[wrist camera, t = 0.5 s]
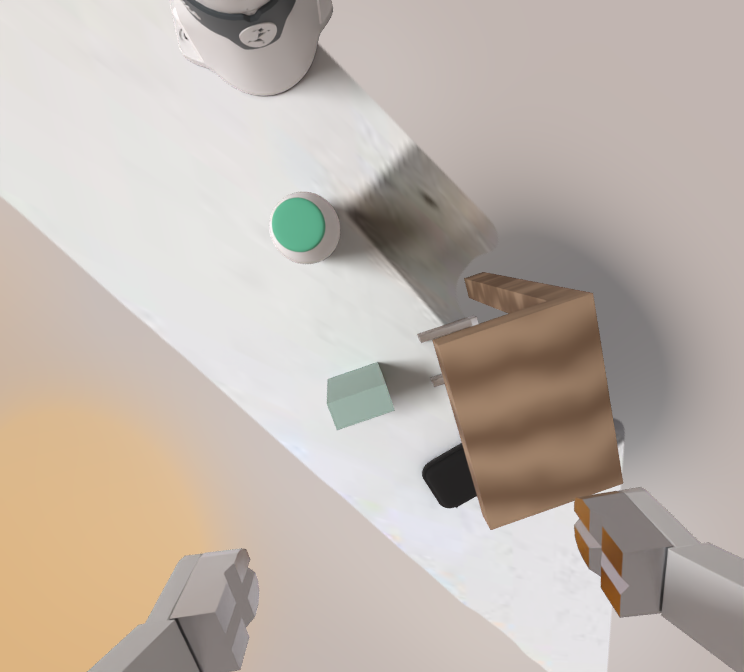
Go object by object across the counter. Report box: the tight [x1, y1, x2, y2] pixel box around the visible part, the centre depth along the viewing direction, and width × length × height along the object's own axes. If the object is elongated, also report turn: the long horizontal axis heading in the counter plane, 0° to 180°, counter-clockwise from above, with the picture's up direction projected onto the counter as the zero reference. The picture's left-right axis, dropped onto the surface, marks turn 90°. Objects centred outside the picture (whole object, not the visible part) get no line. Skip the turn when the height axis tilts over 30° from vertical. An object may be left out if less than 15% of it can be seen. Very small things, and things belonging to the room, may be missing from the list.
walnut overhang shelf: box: [417, 272, 623, 530], centre depth 46 cm, size 20×14×24 cm
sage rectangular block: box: [327, 362, 395, 430], centre depth 53 cm, size 4×8×9 cm, turn 108°
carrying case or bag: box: [422, 443, 477, 508], centre depth 62 cm, size 11×3×15 cm
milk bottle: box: [269, 192, 340, 264], centre depth 42 cm, size 8×8×20 cm
